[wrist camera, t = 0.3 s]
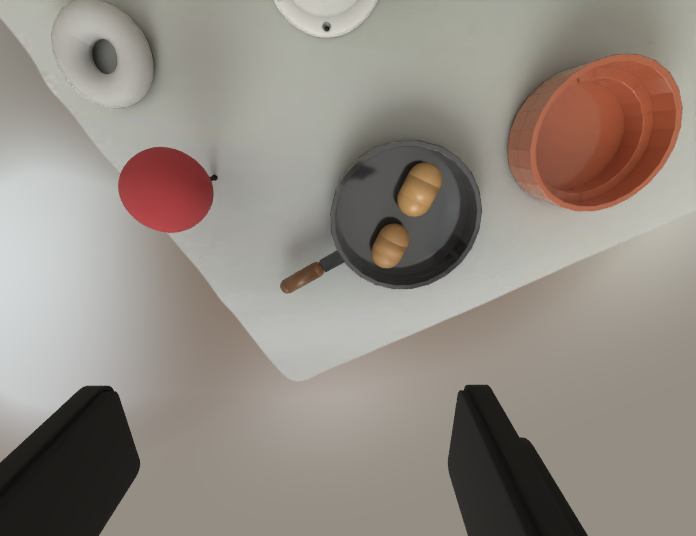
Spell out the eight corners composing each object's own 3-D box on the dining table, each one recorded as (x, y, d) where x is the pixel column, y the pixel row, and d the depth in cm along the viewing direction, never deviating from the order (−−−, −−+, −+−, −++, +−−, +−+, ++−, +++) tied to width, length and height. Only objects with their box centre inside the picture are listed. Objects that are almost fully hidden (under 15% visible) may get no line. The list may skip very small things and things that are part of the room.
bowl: (517, 68, 37) (547, 55, 31) (651, 65, 37) (705, 52, 31) (496, 202, 43) (519, 212, 37) (613, 200, 43) (653, 210, 37)
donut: (152, 123, 39) (168, 31, 36) (134, 122, 36) (150, 21, 33) (65, 87, 38) (73, -13, 34) (39, 82, 35) (44, -28, 31)
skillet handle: (339, 245, 43) (339, 250, 41) (347, 258, 43) (347, 263, 41) (278, 280, 44) (275, 286, 43) (287, 292, 45) (284, 298, 43)
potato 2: (413, 155, 40) (421, 157, 36) (443, 170, 41) (453, 173, 37) (389, 204, 42) (393, 211, 38) (418, 217, 43) (425, 225, 39)
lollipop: (205, 131, 40) (128, 127, 26) (256, 177, 41) (209, 196, 28) (171, 179, 42) (81, 199, 28) (220, 220, 44) (160, 258, 30)
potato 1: (384, 215, 43) (388, 222, 39) (411, 227, 43) (418, 236, 40) (365, 255, 45) (366, 265, 41) (391, 266, 45) (395, 277, 42)
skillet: (329, 141, 40) (328, 142, 36) (479, 139, 40) (491, 139, 36) (334, 278, 47) (333, 290, 43) (462, 276, 47) (471, 288, 43)
